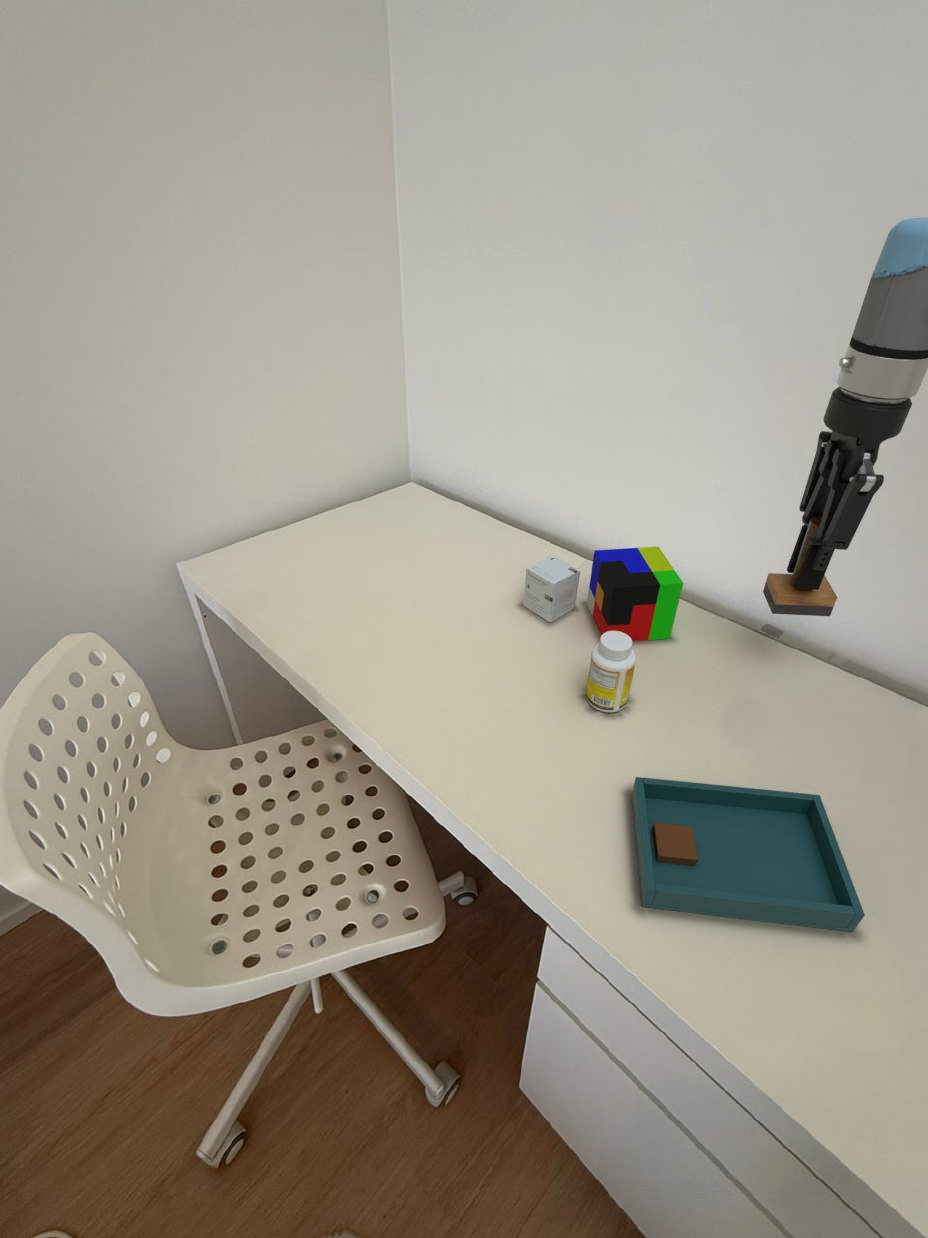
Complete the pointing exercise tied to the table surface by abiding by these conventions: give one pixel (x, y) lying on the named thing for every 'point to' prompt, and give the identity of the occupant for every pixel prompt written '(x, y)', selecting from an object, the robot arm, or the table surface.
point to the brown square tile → (674, 844)
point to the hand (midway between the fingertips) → (802, 579)
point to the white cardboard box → (551, 588)
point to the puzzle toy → (634, 592)
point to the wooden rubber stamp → (799, 600)
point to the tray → (745, 855)
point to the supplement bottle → (611, 672)
